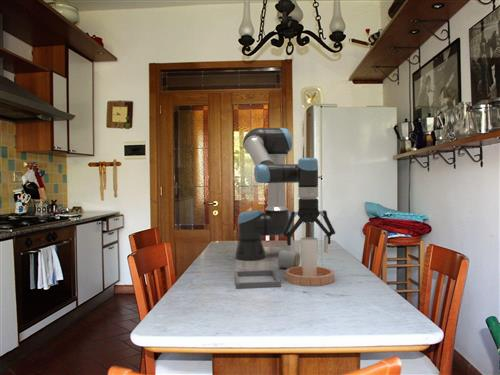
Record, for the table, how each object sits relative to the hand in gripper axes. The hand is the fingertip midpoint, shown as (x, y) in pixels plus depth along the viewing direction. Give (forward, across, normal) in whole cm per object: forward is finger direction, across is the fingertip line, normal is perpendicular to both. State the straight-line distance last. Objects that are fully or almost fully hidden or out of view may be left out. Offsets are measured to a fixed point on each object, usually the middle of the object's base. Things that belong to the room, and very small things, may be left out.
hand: (308, 253), depth 143 cm
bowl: (+10, 0, 0) cm, 10 cm away
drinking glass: (+10, 0, 0) cm, 10 cm away
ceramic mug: (+11, -4, +20) cm, 23 cm away
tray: (+10, -20, 0) cm, 23 cm away
